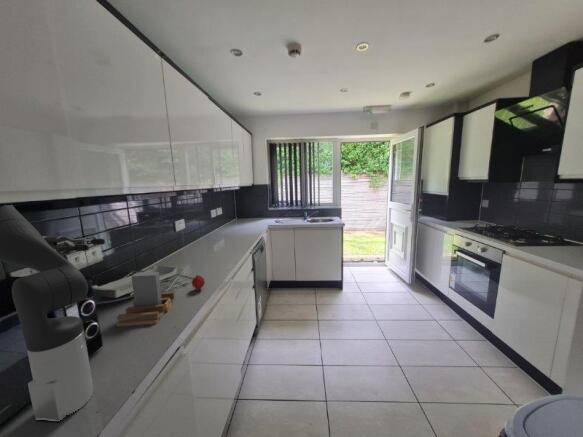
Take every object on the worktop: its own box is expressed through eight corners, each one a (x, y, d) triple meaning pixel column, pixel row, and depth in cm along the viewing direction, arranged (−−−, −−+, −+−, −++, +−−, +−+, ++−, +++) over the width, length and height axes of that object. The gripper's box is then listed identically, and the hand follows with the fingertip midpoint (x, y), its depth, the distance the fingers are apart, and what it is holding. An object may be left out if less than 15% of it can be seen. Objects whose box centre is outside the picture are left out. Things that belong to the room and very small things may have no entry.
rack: (159, 323, 87) (158, 314, 86) (116, 326, 85) (115, 318, 84) (177, 297, 106) (177, 290, 106) (143, 300, 105) (142, 292, 104)
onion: (192, 288, 116) (191, 273, 115) (204, 286, 118) (203, 271, 117) (192, 293, 111) (191, 277, 109) (205, 291, 113) (203, 275, 112)
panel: (159, 309, 95) (155, 275, 92) (135, 311, 93) (131, 276, 91) (162, 305, 97) (158, 272, 95) (139, 307, 96) (135, 273, 94)
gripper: (27, 241, 77) (80, 239, 79) (63, 232, 91) (107, 230, 93) (31, 262, 78) (83, 259, 80) (66, 250, 92) (110, 248, 94)
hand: (96, 244), depth 87 cm, fingers open, 8 cm apart
